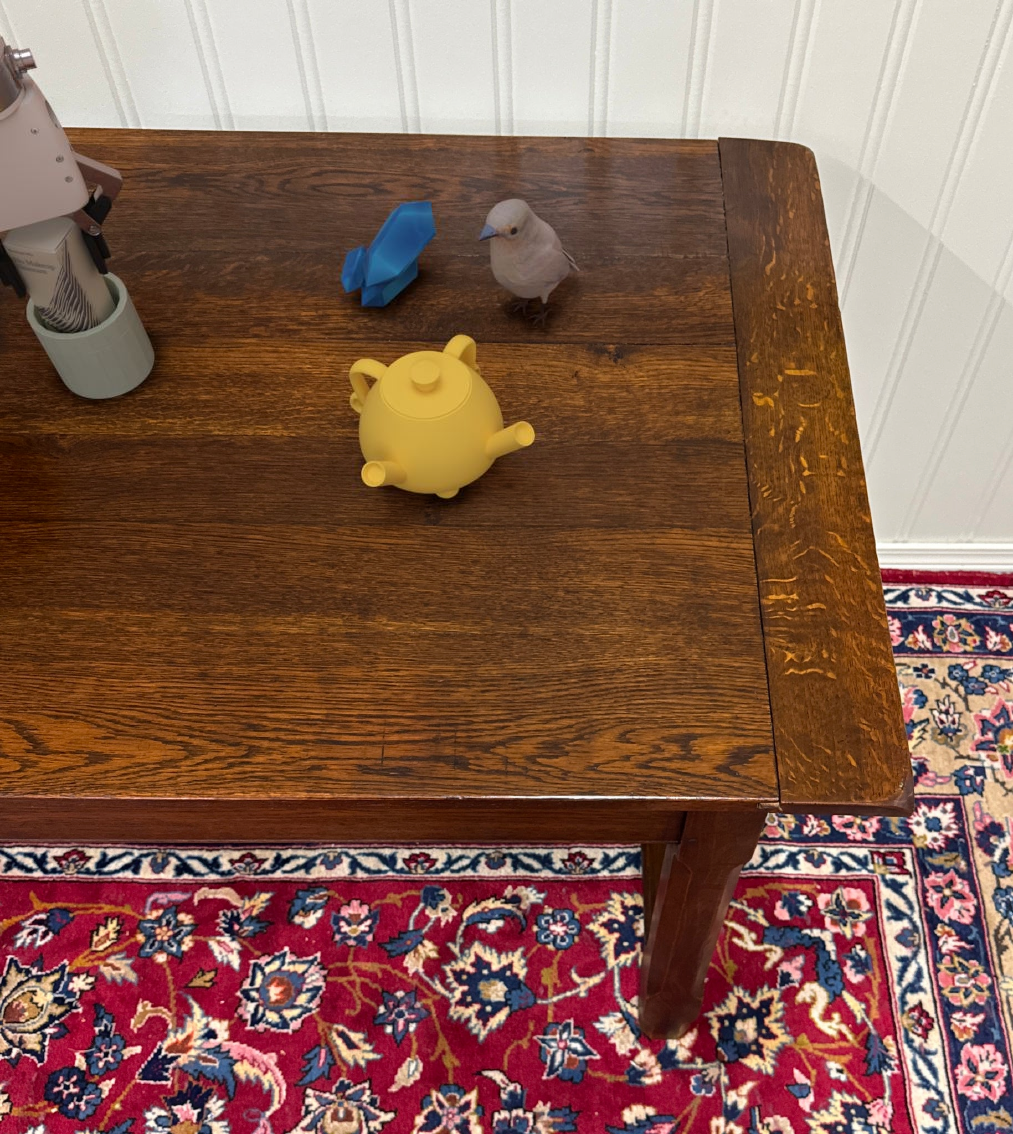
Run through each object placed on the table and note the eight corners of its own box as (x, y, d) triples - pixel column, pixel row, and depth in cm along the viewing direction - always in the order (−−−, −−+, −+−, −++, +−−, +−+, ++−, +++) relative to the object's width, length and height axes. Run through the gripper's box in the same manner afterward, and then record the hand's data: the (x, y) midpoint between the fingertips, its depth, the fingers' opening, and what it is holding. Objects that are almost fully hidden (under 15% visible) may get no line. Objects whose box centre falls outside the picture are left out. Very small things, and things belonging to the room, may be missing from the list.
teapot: (377, 541, 84) (359, 463, 75) (340, 423, 91) (320, 337, 82) (536, 497, 87) (538, 416, 77) (489, 386, 93) (486, 297, 84)
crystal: (313, 257, 93) (384, 164, 95) (340, 311, 101) (405, 223, 103) (376, 287, 91) (447, 191, 93) (399, 339, 99) (463, 250, 101)
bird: (464, 338, 97) (456, 212, 84) (555, 267, 102) (561, 137, 89) (501, 363, 95) (498, 239, 82) (592, 289, 100) (603, 161, 87)
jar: (63, 407, 93) (26, 347, 86) (60, 340, 97) (25, 278, 90) (158, 388, 94) (129, 327, 87) (151, 323, 98) (123, 260, 91)
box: (58, 352, 92) (-6, 242, 81) (80, 319, 94) (20, 207, 83) (110, 362, 91) (53, 252, 80) (131, 328, 93) (78, 216, 82)
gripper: (75, 26, 74) (151, 222, 89) (-169, 82, 70) (-46, 275, 86) (94, 81, 70) (170, 276, 85) (-163, 143, 67) (-36, 334, 82)
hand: (61, 274), depth 85 cm, fingers closed on box, 6 cm apart
